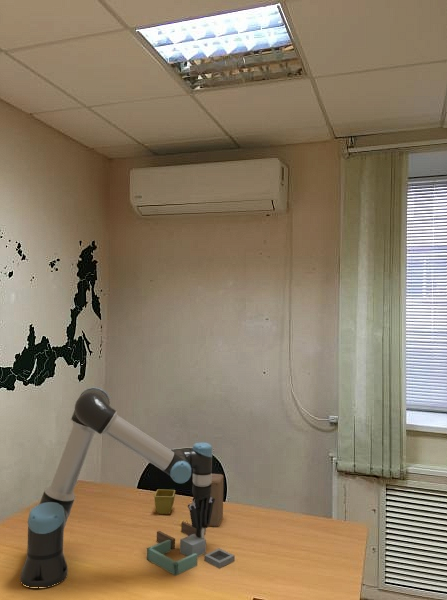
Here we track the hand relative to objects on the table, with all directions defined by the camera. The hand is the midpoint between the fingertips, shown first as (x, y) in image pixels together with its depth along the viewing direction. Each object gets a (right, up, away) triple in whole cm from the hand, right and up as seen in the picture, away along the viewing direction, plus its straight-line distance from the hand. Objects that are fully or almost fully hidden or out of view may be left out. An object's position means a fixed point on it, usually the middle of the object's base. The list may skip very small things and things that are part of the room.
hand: (200, 544), depth 190 cm
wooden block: (+3, -3, +26) cm, 26 cm away
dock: (-10, -1, -11) cm, 15 cm away
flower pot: (-18, -3, +35) cm, 40 cm away
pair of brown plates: (-9, -2, +7) cm, 12 cm away
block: (-3, -2, -3) cm, 5 cm away
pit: (+7, -2, -9) cm, 12 cm away
